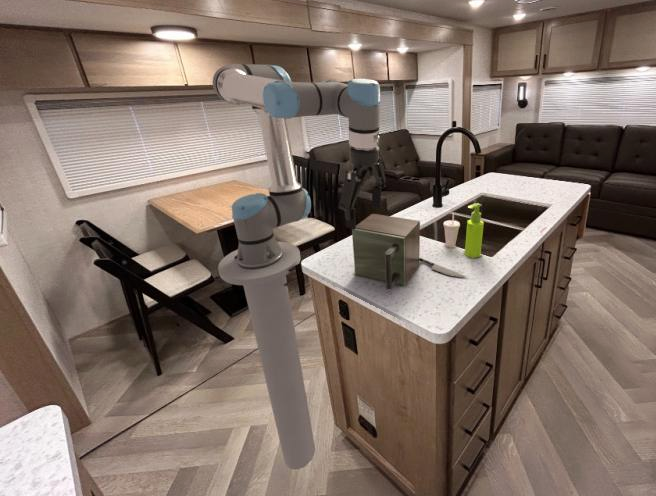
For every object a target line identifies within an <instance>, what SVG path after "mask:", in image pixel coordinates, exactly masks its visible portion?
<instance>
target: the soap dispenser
mask: <svg viewBox="0 0 656 496" xmlns="http://www.w3.org/2000/svg"><path fill="white" fill-rule="evenodd" d="M480 207H482V204H481V203H478V202H476V203H472V204H470V205H468V206H467V208H468V209H469V210H473V211H472V212H471V215H470V219H467V220H466V232H465V244H464V255H465V256H466V257H469V258H474V259H475V258H479V257H481V254H482V244H483V234H484V227H485V225H484V224H485V222H484V221H483V220H482V213H481V211H480Z"/></svg>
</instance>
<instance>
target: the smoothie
mask: <svg viewBox="0 0 656 496" xmlns="http://www.w3.org/2000/svg"><path fill="white" fill-rule="evenodd" d="M443 227H444V229H443V230H444V239H445V247H447V248H450V249H451V248H455V247H456V244H457V239H458V234H459V230H460V229H459V228H460V227H461V223H460V222H459V221H458V220H455V213H454V212H452V218H451V220H450V219H448V220H445V221H443Z"/></svg>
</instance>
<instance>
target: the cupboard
mask: <svg viewBox="0 0 656 496" xmlns="http://www.w3.org/2000/svg"><path fill="white" fill-rule="evenodd" d="M356 229H361V230H367V231H372V232H378V233H384V234H389V235H395V236H401V237H405V285H407V283H408V281H409V280H410V278H411V277H412V276H413V275H414V273H415V272H416V270H417V269H418V267H419V266H420V261H419V258H420V251H421V250H420V247H421V245H420V243H421V220H416V219H410V218H405V217H398V216H391V215H385V214H384V215H383V214H378V213H371V214H370V215H369V216H367V217H365V218H364V219H362V221H360V222H359V223H358V224H356Z"/></svg>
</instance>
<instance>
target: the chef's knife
mask: <svg viewBox="0 0 656 496" xmlns="http://www.w3.org/2000/svg"><path fill="white" fill-rule="evenodd" d="M419 262H421V263H425V264H428V265H429V266H432V267H431V270H433V271H436V272H439V273H441V274H444V275H446V276H447V275H448V276H451V277H457V278H467V276H465V275H464V274H462V273H459V272H457V271H455V270H452V269H449V268H446V267H444V266H442V265H439V264H436V263H434V262H432V261H429V260H426V259H424V258H422V257H419Z"/></svg>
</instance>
